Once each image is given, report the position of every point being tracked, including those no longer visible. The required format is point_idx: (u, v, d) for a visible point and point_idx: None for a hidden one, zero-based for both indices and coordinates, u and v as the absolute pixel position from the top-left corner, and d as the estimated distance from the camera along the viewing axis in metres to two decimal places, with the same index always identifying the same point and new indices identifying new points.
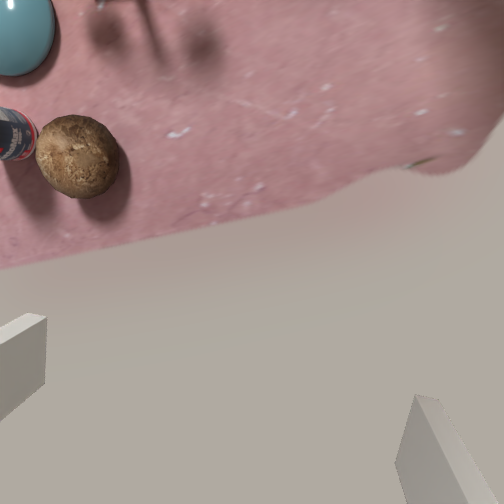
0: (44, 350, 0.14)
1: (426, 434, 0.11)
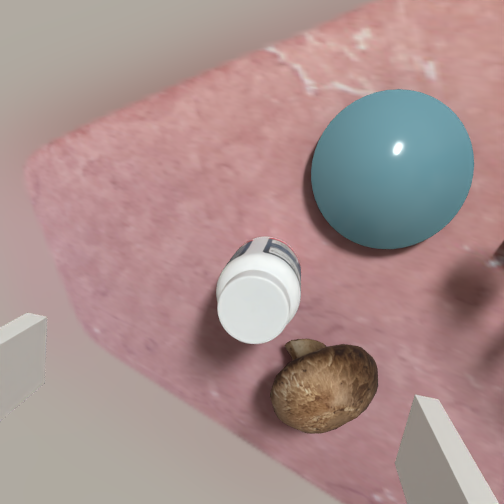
0: (44, 350, 0.14)
1: (426, 435, 0.11)
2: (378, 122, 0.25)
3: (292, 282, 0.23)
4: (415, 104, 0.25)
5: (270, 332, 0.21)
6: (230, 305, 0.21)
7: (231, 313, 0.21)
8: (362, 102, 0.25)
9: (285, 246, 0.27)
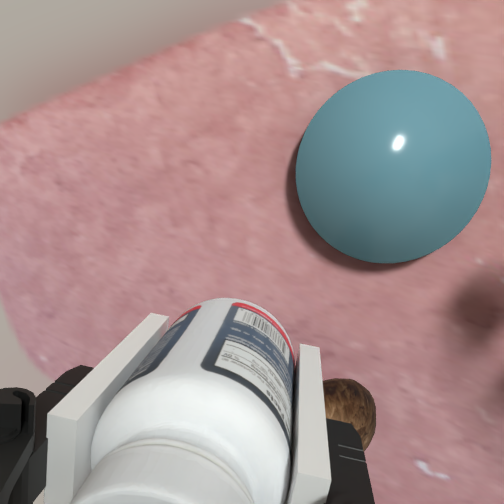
0: None
1: (297, 372, 0.14)
2: (376, 110, 0.21)
3: (268, 454, 0.09)
4: (421, 88, 0.20)
5: None
6: None
7: None
8: (357, 85, 0.21)
9: (263, 324, 0.14)
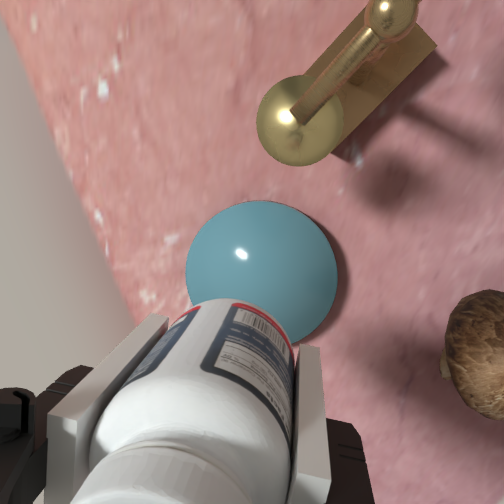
0: None
1: (297, 371, 0.14)
2: (213, 289, 0.27)
3: (268, 456, 0.09)
4: (197, 258, 0.27)
5: None
6: None
7: None
8: (196, 304, 0.27)
9: (262, 325, 0.13)
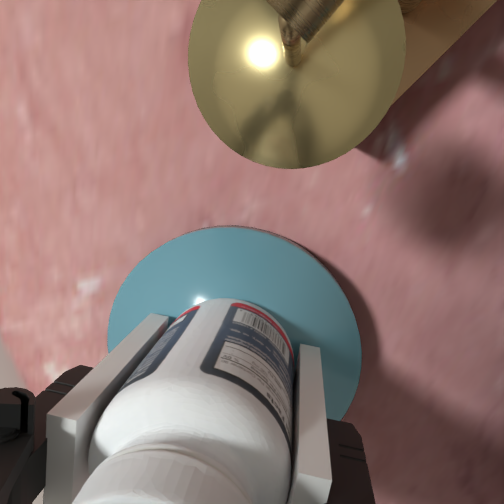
0: None
1: (298, 372, 0.14)
2: None
3: (269, 458, 0.09)
4: (126, 321, 0.16)
5: None
6: None
7: None
8: None
9: (262, 325, 0.13)
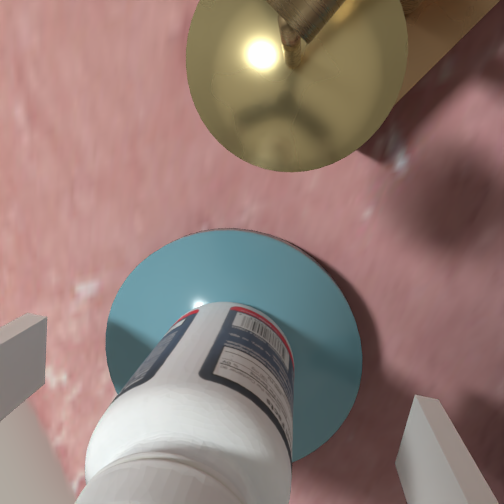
0: (44, 350, 0.14)
1: (426, 435, 0.11)
2: None
3: (269, 466, 0.09)
4: (124, 325, 0.16)
5: None
6: None
7: None
8: None
9: (262, 329, 0.13)
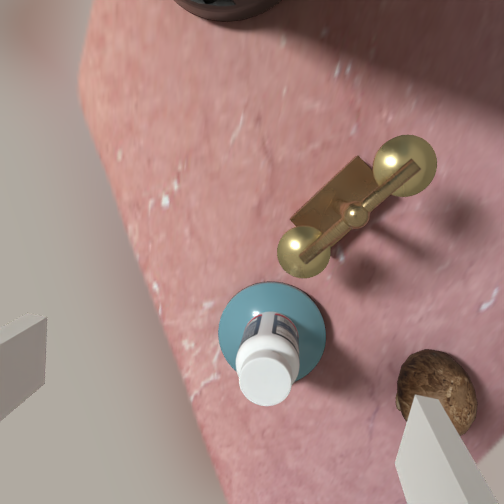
0: (44, 350, 0.14)
1: (426, 435, 0.11)
2: (238, 342, 0.38)
3: (293, 358, 0.31)
4: (227, 320, 0.38)
5: (277, 398, 0.29)
6: (249, 377, 0.29)
7: (249, 383, 0.29)
8: (225, 352, 0.38)
9: (287, 322, 0.35)
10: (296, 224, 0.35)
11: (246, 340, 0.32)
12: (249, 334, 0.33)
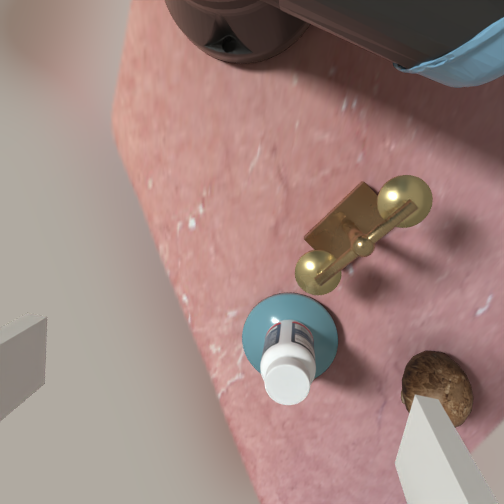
0: (44, 350, 0.14)
1: (425, 434, 0.11)
2: (260, 347, 0.43)
3: (310, 363, 0.36)
4: (250, 328, 0.43)
5: (298, 398, 0.34)
6: (273, 381, 0.34)
7: (273, 386, 0.34)
8: (248, 355, 0.43)
9: (303, 329, 0.40)
10: (310, 243, 0.39)
11: (269, 348, 0.37)
12: (271, 342, 0.37)
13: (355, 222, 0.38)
